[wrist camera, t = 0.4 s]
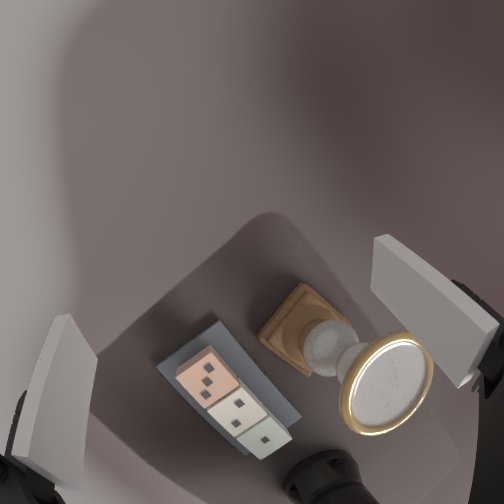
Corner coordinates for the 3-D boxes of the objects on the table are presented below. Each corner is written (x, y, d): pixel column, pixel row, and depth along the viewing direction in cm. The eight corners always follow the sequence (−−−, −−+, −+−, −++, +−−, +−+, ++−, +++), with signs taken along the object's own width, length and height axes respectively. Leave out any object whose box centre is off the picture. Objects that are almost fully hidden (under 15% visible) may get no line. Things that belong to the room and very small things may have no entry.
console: (300, 413, 44) (307, 424, 41) (244, 451, 42) (247, 464, 39) (219, 318, 42) (221, 324, 39) (157, 364, 41) (153, 373, 37)
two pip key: (262, 403, 40) (268, 415, 37) (231, 425, 39) (234, 437, 36) (238, 377, 40) (242, 387, 36) (206, 399, 39) (206, 411, 35)
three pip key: (236, 375, 40) (239, 385, 36) (203, 397, 39) (204, 409, 35) (210, 344, 39) (211, 352, 35) (176, 368, 38) (175, 378, 35)
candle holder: (300, 280, 45) (397, 300, 21) (347, 322, 46) (452, 363, 22) (254, 336, 43) (310, 412, 20) (304, 374, 45) (384, 453, 21)
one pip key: (286, 427, 41) (292, 439, 37) (256, 448, 40) (260, 460, 36) (264, 405, 40) (270, 417, 37) (233, 427, 39) (236, 439, 36)
